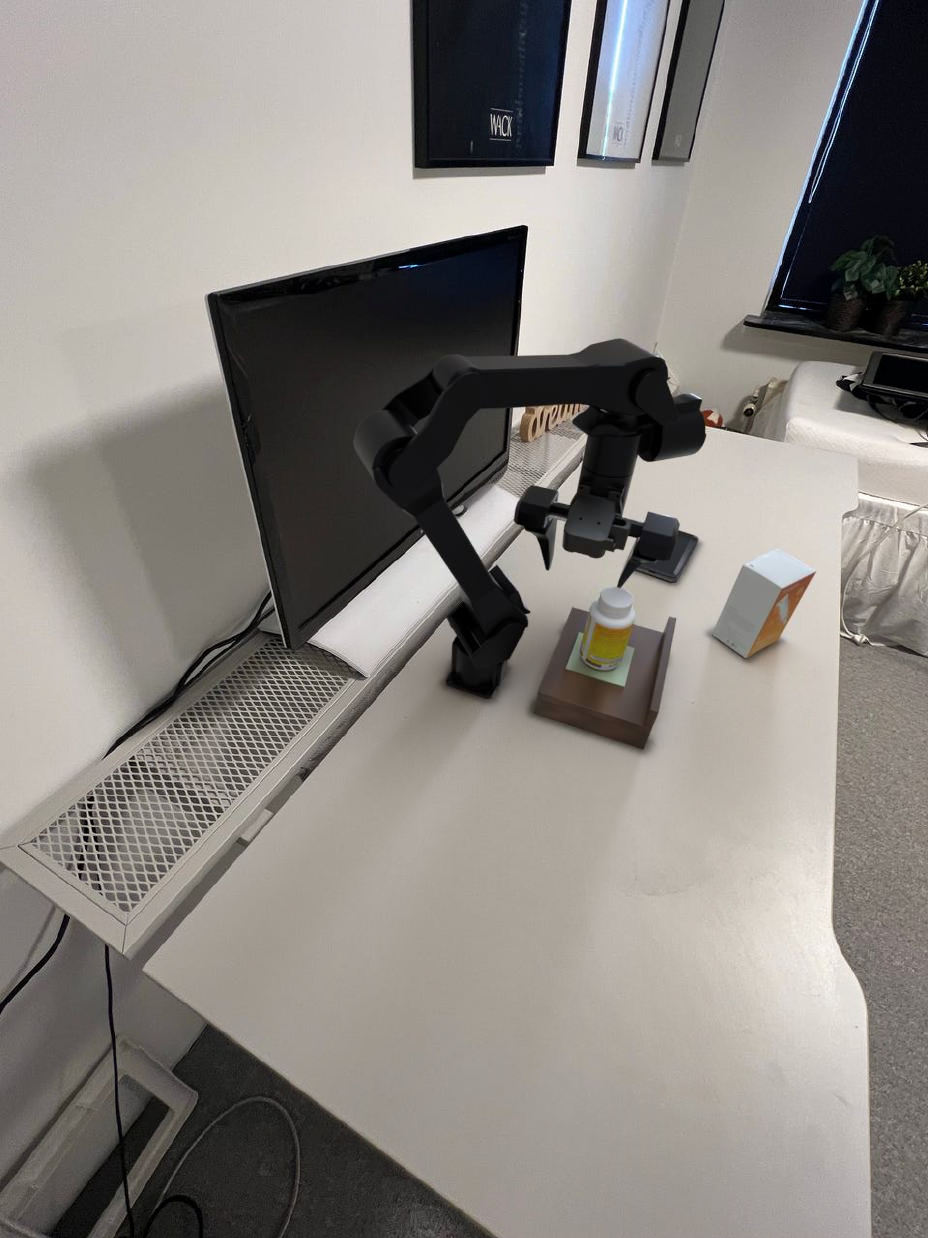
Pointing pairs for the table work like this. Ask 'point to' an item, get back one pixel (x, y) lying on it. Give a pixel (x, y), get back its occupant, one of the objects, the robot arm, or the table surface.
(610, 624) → the supplement bottle
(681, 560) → the phone
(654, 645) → the wooden coaster tray
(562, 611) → the table surface
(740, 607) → the small box
